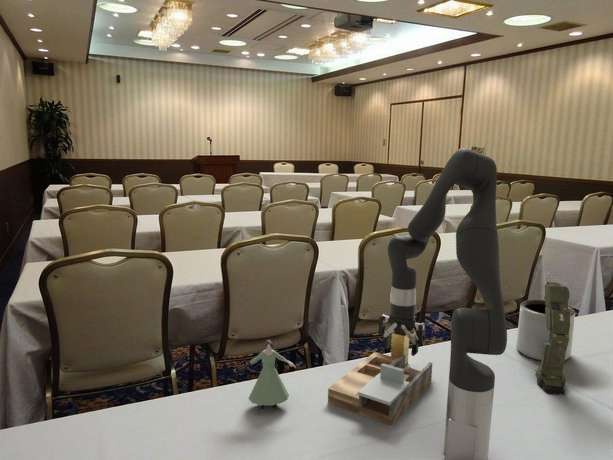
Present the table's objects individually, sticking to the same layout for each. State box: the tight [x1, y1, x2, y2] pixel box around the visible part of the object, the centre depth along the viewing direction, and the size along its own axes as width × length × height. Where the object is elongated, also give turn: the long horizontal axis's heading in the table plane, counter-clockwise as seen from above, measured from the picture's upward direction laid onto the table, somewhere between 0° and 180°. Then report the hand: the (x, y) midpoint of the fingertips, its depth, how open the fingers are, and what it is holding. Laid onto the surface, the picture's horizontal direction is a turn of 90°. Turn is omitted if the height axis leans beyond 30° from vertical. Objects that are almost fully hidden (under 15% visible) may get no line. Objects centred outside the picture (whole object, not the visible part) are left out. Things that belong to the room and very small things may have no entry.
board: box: [327, 351, 433, 426], centre depth 135 cm, size 27×18×6 cm, turn 146°
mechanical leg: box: [534, 281, 570, 396], centre depth 139 cm, size 14×7×30 cm, turn 168°
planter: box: [515, 299, 576, 362], centre depth 160 cm, size 16×16×16 cm
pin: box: [390, 331, 410, 366], centre depth 152 cm, size 4×4×10 cm
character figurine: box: [234, 339, 297, 411], centre depth 126 cm, size 16×8×18 cm, turn 100°
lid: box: [358, 364, 410, 405], centre depth 125 cm, size 12×9×4 cm
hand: (400, 351), depth 152 cm, fingers open, 8 cm apart
